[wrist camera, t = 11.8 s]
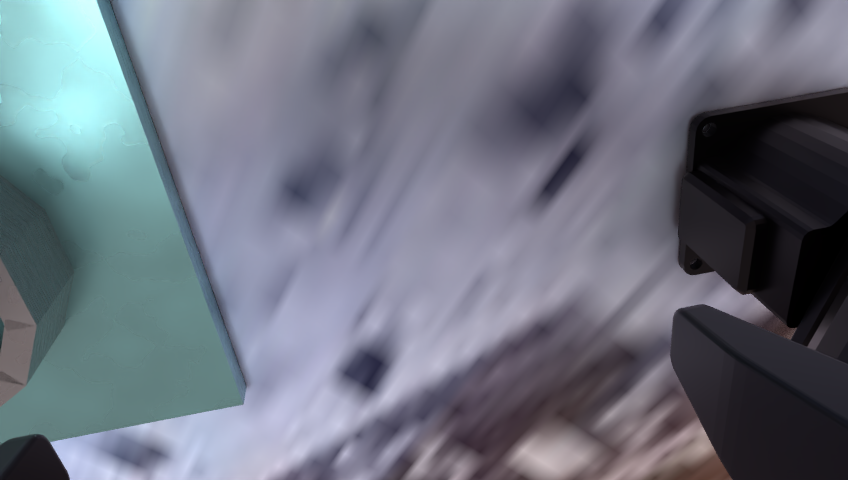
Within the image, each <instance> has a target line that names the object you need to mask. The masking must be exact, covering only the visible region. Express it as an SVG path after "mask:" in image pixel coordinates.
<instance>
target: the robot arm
mask: <svg viewBox="0 0 848 480" xmlns="http://www.w3.org/2000/svg"><path fill="white" fill-rule="evenodd" d="M708 123H710V128H709V130H708V131H707V132H705V133H703V132H702V131H703V128H704V127H705V125H706V124H708ZM678 237H679V238H680V239H681V241H680V253H679V265H680V267H681V268H682V269H683V270H684V271H685V272H686V273H687V274H690V275H697V274H702V273H708V272H713V271H716V272H717V273H718V274H719V275H720V276H721V277H722V278H723V279H724V280H725V281H726V282H728V283H729V284H730V285H731V286H732V287H733V288H734V289H735V290H736V291H738V292H739V293H740V294H742V295H745V294H750V293H751V294H752V295H753V296H754V297H756V298H757V299H758V300H759V301H760V302H761V303H762V304H763V305H764V306H766V307H767V308H768V309H769V310H770V311H771V312H772V313H773V314H774V315H776V316H777V317H778V318H779V319H780V320H781V321H782V322H783V323H784V324H786V325H787V326H788V327H789V328H796V327H797V329H796V331H795V333H794V334H793V336H792V338H791V340H789V339H787V338H784V337H782V336H779V335H777V334H775V333H772V332H770V331H768V330H765V329H763V328H760V327H758V326H756V325H753V324H751V323H748V322H746V321H744V320H741V319H739V318H736V317H734V316H732V315H729V314H727V313H725V312H722V311H720V310H717V309H715V308H713V307H710V306H707V305H703V304H701V305H695V306H690V307H684V308H680V309H678V310H677V311H676V312H675V314H674V317H673V325H672V337H671V350H670V356H671V362H672V365H673V368H674V370H675V372H676V374H677V376H678V378H679V380H680V382H681V384H682V386H683V388H684V390H685V392H686V394H687V396H688V398H689V400H690V402H691V404H692V406H693V408H694V410H695V412H696V414H697V416H698V418H699V420H700V422H701V424H702V426H703V428H704V430H705V432H706V434H707V436H708V438H709V440H710V442H711V444H712V446H713V447H714V449H715V451H716V453H717V455H718V457H719V459H720V460H721V462H722V464H723V465H724V467H725V468H726V470H727V472H728V473H729V475H730V476H731V478H732V480H848V88H844V89H838V90H833V91H827V92H821V93H815V94H809V95H804V96H798V97H792V98H786V99H781V100H775V101H769V102H763V103H758V104H752V105H746V106H740V107H735V108H729V109H723V110H717V111H712V112H706V113H702V114H700V115H698V116H697V117H696V118H695V119H694V120H693V122H692V123H691V126H690V133H689V145H688V157H687V169H686V174H685V176H684V177H683V179H682V189H681V201H680V214H679V226H678ZM694 259H697V260H696V261H695V262H694V263H693V264H691V262H692V261H693V260H694ZM690 264H691V265H690ZM0 480H70V478H69V475H68V472H67V470H66V469H65V467H64V465H63V464H62V462H61V460H60V459H59V457H58V455H57V453H56V452H55V450H54V448H53V447H52V445H51V443H50V442H49V440H48V439H47V438H46V437H45V436H44V435H42V434H31V435H26V436H21V437H16V438H12V439H9V440H7V441H5V442H4V443H3V444H1V445H0Z"/></svg>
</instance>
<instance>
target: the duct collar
mask: <svg viewBox="0 0 848 480" xmlns="http://www.w3.org/2000/svg"><path fill="white" fill-rule="evenodd" d="M245 392H246V384H245V382H244V379H243V376H242V373H241V370H240V367H239V365H238V362H237V359H236V356H235V353H234V351H233V348H232V345H231V342H230V339H229V336H228V334H227V331H226V328H225V325H224V322H223V320H222V317H221V314H220V311H219V308H218V305H217V303H216V300H215V297H214V294H213V291H212V288H211V286H210V283H209V280H208V277H207V274H206V272H205V269H204V266H203V263H202V260H201V257H200V255H199V252H198V249H197V246H196V243H195V241H194V238H193V235H192V232H191V229H190V226H189V224H188V221H187V218H186V215H185V212H184V209H183V207H182V204H181V201H180V198H179V195H178V193H177V190H176V187H175V184H174V181H173V178H172V176H171V173H170V170H169V167H168V164H167V162H166V159H165V156H164V153H163V150H162V147H161V145H160V142H159V139H158V136H157V133H156V131H155V128H154V125H153V122H152V119H151V116H150V114H149V111H148V108H147V105H146V102H145V99H144V97H143V94H142V91H141V88H140V85H139V83H138V80H137V77H136V74H135V71H134V68H133V66H132V63H131V60H130V57H129V54H128V52H127V49H126V46H125V43H124V40H123V37H122V35H121V32H120V29H119V26H118V23H117V21H116V18H115V15H114V12H113V9H112V6H111V4H110V1H109V0H0V445H1V444H3V443H4V442H5V441H7V440H9V439H12V438H16V437H21V436H26V435H31V434H42V435H44V436H45V437H46V438H47V439H48V440H49V442H52V441H57V440H62V439H67V438H72V437H78V436H83V435H88V434H93V433H98V432H103V431H108V430H114V429H119V428H124V427H129V426H134V425H139V424H145V423H150V422H155V421H160V420H165V419H170V418H176V417H181V416H186V415H191V414H196V413H201V412H206V411H212V410H217V409H222V408H227V407H232V406H237V405H243V404H244V398H245Z"/></svg>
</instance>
